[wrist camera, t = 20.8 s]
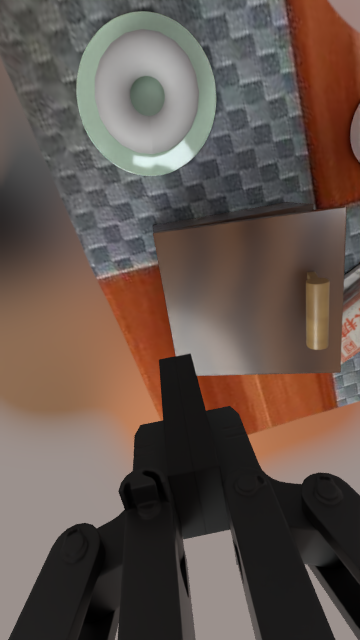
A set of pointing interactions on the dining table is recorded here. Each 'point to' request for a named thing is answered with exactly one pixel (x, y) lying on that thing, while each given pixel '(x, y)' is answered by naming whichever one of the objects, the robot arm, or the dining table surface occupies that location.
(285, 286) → the lid
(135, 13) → the saucer
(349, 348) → the packaged product
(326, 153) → the dining table surface
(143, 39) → the donut
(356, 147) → the alcohol
